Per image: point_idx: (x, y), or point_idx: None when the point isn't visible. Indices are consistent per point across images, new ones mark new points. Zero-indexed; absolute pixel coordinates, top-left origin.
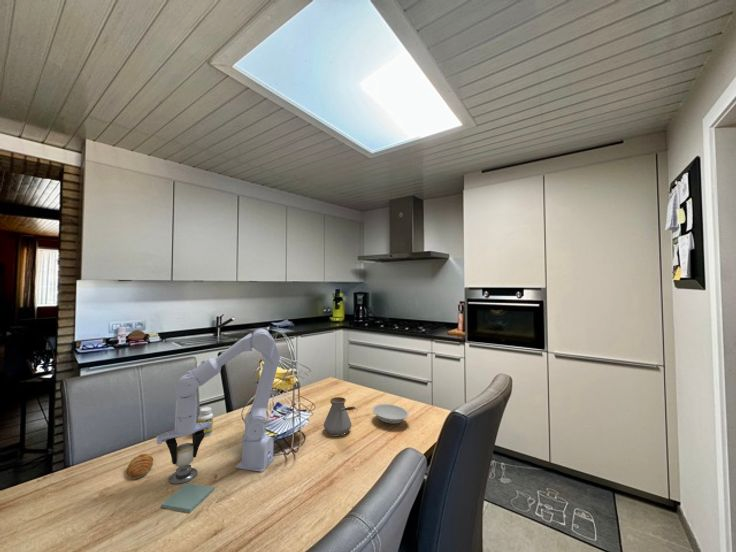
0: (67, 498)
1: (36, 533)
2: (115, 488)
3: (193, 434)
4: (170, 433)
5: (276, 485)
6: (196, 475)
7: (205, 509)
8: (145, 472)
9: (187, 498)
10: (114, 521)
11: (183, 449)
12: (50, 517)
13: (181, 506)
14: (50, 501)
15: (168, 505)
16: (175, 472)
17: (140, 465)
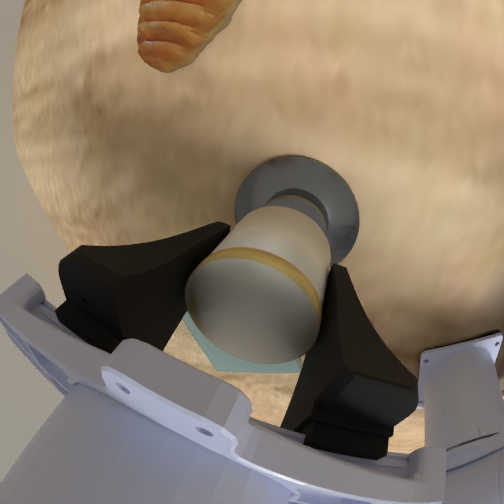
0: (53, 50)
1: (28, 152)
2: (111, 77)
3: (314, 395)
4: (55, 379)
5: None
6: (330, 265)
7: (246, 382)
8: (179, 66)
9: None
10: (100, 244)
11: (224, 336)
12: (35, 112)
13: (206, 351)
14: (40, 42)
15: (185, 323)
16: (284, 164)
17: (158, 26)
